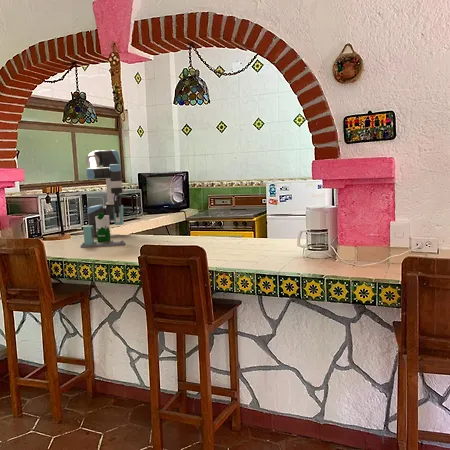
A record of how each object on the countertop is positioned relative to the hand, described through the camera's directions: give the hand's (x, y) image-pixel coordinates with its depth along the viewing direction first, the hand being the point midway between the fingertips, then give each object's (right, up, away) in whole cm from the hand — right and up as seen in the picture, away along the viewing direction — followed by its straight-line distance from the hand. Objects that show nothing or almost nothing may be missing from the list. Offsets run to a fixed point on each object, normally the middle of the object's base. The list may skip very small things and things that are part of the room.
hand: (119, 221), depth 325 cm
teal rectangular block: (-18, -15, -7) cm, 24 cm away
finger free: (0, -2, 0) cm, 2 cm away
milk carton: (-14, -14, +14) cm, 24 cm away
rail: (-9, -16, -7) cm, 20 cm away
